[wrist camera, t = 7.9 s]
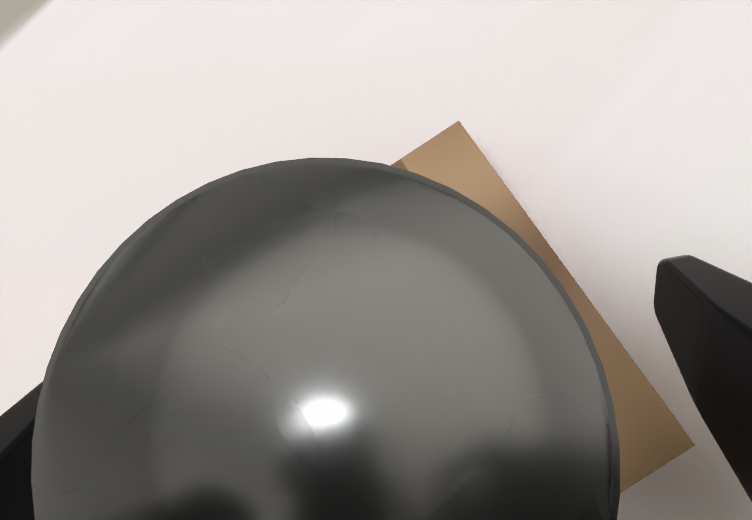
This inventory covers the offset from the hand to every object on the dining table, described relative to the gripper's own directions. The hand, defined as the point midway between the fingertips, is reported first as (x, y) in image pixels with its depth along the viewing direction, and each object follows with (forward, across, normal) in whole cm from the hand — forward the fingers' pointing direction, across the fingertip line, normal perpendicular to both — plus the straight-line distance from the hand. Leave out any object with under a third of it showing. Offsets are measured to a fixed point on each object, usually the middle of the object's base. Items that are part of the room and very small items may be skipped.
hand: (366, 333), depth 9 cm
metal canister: (+5, 0, +7) cm, 9 cm away
